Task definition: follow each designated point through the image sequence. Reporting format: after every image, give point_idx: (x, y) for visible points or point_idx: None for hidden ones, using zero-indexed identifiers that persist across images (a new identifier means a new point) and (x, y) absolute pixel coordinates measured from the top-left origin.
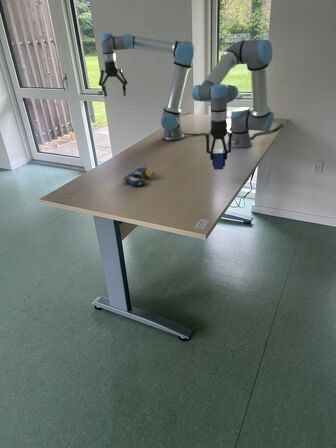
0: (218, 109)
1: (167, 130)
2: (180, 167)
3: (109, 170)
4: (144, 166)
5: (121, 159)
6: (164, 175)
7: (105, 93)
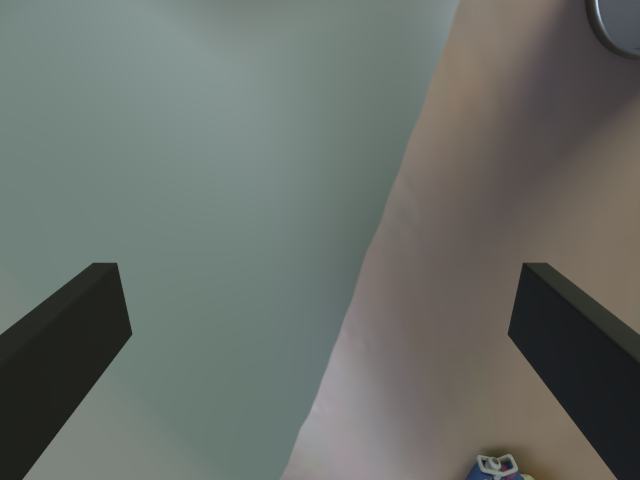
0: None
1: None
2: None
3: (359, 437)
4: (512, 472)
5: (375, 342)
6: (571, 467)
7: (97, 359)
